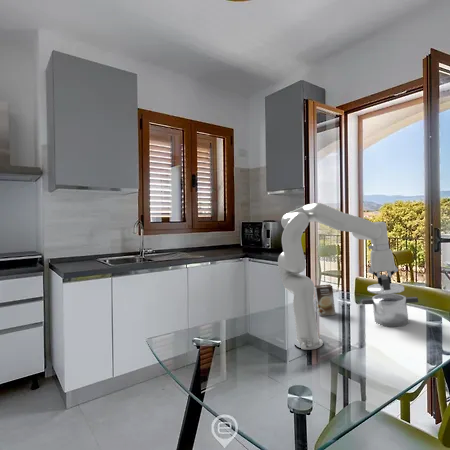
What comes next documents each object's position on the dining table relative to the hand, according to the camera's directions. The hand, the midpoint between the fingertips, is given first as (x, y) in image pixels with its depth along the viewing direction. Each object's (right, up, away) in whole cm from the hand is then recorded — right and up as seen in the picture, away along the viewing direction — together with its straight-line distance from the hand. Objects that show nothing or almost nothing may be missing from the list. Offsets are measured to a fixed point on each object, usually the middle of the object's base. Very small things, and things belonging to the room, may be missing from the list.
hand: (384, 284), depth 157 cm
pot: (+5, -19, +4) cm, 20 cm away
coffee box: (-20, -22, +28) cm, 40 cm away
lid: (0, -2, 0) cm, 2 cm away
